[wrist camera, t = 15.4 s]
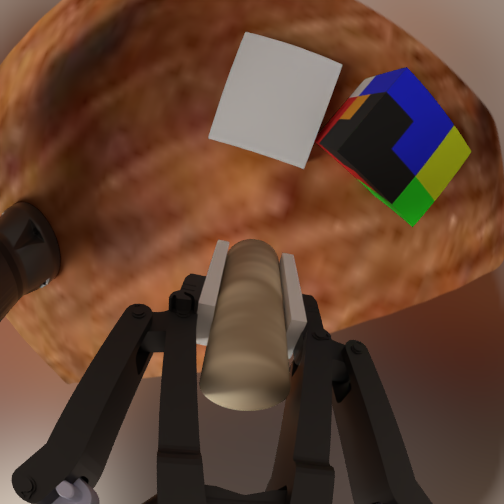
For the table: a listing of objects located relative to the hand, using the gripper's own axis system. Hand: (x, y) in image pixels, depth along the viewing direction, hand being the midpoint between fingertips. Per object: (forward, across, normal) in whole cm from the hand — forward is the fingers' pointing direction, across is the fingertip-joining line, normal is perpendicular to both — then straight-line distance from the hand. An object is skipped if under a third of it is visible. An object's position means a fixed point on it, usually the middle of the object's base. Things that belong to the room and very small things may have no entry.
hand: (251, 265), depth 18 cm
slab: (+15, 0, +12) cm, 19 cm away
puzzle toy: (+15, +11, +11) cm, 22 cm away
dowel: (0, 0, 0) cm, 0 cm away
